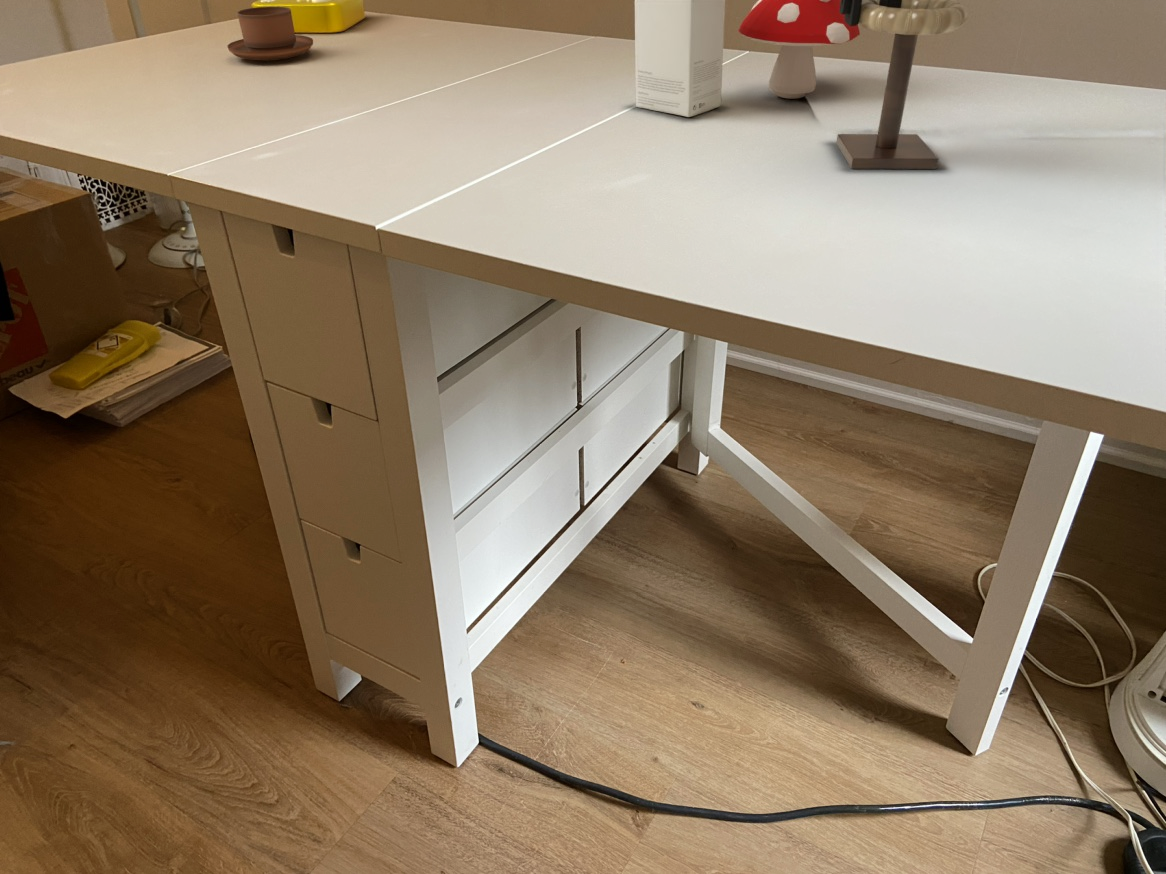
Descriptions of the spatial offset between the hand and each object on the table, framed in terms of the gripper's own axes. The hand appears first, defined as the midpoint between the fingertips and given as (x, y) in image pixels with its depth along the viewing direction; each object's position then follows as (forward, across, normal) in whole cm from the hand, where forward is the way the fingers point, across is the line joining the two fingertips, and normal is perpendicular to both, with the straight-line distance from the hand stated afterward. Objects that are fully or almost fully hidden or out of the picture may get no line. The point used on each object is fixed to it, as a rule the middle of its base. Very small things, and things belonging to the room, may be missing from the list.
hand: (867, 21), depth 80 cm
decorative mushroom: (+12, +2, -23) cm, 26 cm away
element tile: (+12, +76, -71) cm, 105 cm away
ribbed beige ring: (-1, -4, 0) cm, 4 cm away
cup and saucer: (+12, +74, -46) cm, 88 cm away
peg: (+12, -4, 0) cm, 13 cm away
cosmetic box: (+12, +16, -18) cm, 27 cm away
